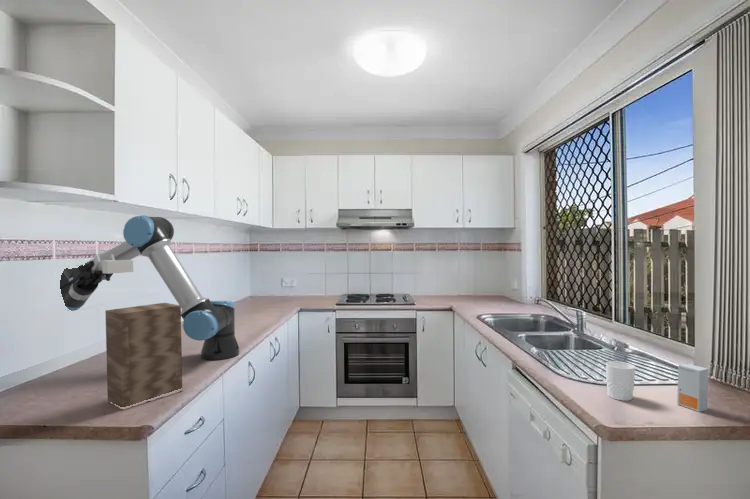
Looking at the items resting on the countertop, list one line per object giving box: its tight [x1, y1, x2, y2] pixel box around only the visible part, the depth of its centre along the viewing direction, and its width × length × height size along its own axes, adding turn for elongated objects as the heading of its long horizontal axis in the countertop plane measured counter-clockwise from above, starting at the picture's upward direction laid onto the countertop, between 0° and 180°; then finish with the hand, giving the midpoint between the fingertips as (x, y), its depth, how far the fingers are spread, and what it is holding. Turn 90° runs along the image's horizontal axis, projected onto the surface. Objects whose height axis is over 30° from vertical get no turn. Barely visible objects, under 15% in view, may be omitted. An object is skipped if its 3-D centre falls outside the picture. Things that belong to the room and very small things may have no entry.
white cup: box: [605, 360, 636, 402], centre depth 131 cm, size 8×8×10 cm
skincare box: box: [676, 362, 710, 413], centre depth 123 cm, size 6×4×12 cm
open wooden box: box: [105, 302, 183, 407], centre depth 132 cm, size 18×10×28 cm, turn 144°
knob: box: [95, 259, 134, 274], centre depth 148 cm, size 18×8×4 cm, turn 54°
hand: (105, 257), depth 149 cm, fingers closed on knob, 4 cm apart
